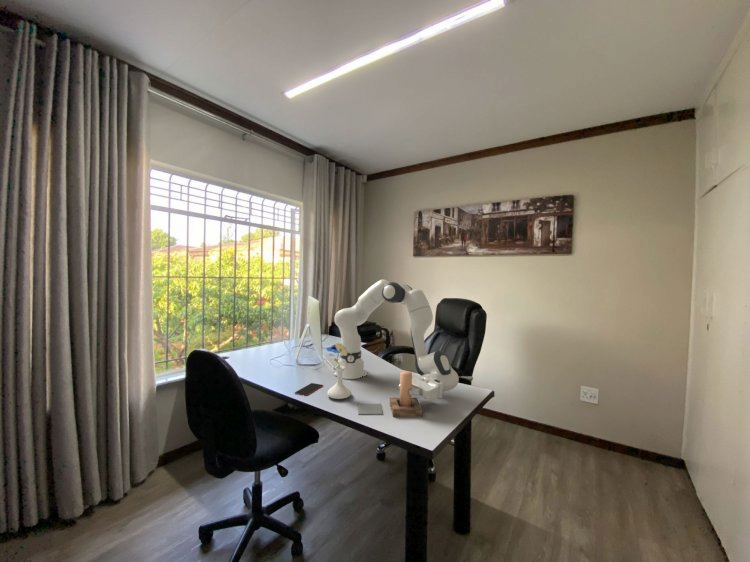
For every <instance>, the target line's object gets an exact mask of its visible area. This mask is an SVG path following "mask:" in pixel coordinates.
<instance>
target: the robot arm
mask: <svg viewBox="0 0 750 562" xmlns="http://www.w3.org/2000/svg"><path fill="white" fill-rule="evenodd" d="M384 302H388V303H390V304H393V305H405V307H406V308H407V311H408V315H409V319H410V337H411V342H412V343H411V344H412V347H413V352H414V360H415V363H414V366H415V369H416V372H417V373H418V374H419V376H420V377H418V376H415V375H412V389H408V394H410V395H411V396H413V395H416V396H417V395H418V396H421V397H423V398H424V399H426V400H435V399H441V398H443V393H445V392H447V391H451V390H453V389H454V388H456V387H457V386H458V384H459V381H460V379H459V378H460V377H459V375H458V373H457V372H456V371H455V370H454V369H453V368H452V365H451V363H450V358H449V356H448V355H447V353H445V352H444V351H442V350H436V351H433V352H431V353H427V348H426V344H425V334H426V332H427V330H428V329H429V328H430V326H431V325H432V323H433V320H434V316H433V310H432V308H431V305H430V302H429V300H428V299H427V297H426V295H425V293H424V291H423V290H421V289H419V288H412V287H411V286H410V285H408V284H405V283H402V282H395V281H391V282H390V281H388V280H386V279H383V278H382V279H379V280H378V281H376V282H375V283H374V284H371V285H370V287H368V288H367V289H366V290H365V291H364V292H362V294H361V295H360V296H358V298H357V302H356V303H355V304H354V305H353V306H351V307H345V308H342V309H340V310H338V311H336V313H335V315H334V324H335V325H336V326H337V327H338V329H339V333H340V338H341V339H340V340H341V343H342V345H343V346H344V347H346V350H347V352H348V353H347V355H346V356H344V355H342V354H340V353H339V355H340V358H339V359H338V363H341V362H342V363H341V364H339V365H338V363H337V362H336V364H337V366H344V367H345V369H344V371H343V374H342V379H344V380H357V379H360V377H361V378H363V377H366V375H368V373H367V372H366V371H365V368H364V367H365V366H364V365H365V364H364V363H365V361H364V360H363V359H362V350H361V349H362V346H361V345H362V339H361V336H360V334H359V332H358V326H361V325H362V324H364V323H365V322H366V321H368V318H369V317H370V315H371V314H372V313H373V312H374V311H375V310H376V309H377V308H378V307H379V306H381V304H383V303H384ZM341 343H340V344H341ZM343 361H344V362H343ZM333 376H335V377H337V371H335V372H334V374H333ZM362 376H363V377H362ZM398 390H400V383H399V384H398Z"/></svg>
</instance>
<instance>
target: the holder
mask: <svg viewBox="0 0 750 562" xmlns="http://www.w3.org/2000/svg"><path fill="white" fill-rule="evenodd" d="M399 404H400V397H389V407H391V408H390V411H391V415H392V417H393V418H402V417H404V418H405V417H406V418H408V417H411V418H413V417H414V418H415V417H419V416H420V417H423V408H422V405H421V403H420V401H419V400H418V397H411V406H408V407H399Z"/></svg>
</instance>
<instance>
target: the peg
mask: <svg viewBox="0 0 750 562" xmlns="http://www.w3.org/2000/svg"><path fill="white" fill-rule="evenodd" d="M399 375H400V376H399V384H400V389H399V398H400V404H399V407H408V406H411V398H412V395H410V394H408V389H412V376H413V372H411V371H409V370H401V371H400V372H399Z"/></svg>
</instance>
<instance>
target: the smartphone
mask: <svg viewBox="0 0 750 562" xmlns="http://www.w3.org/2000/svg"><path fill="white" fill-rule="evenodd" d="M322 386H323V387H324V384H319V383H314V382H311V383H309V384H306V385H305V386H304V387H302V388H300V389H299V390H296V391H295V392H294V394H295V395H298V394H299V396H303V395H304V396H303V397H309V395H311V394H313V393H314V392H315V393H316V392H317V391H318V390H319V388H320V389H321V388H323V387H322Z"/></svg>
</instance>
